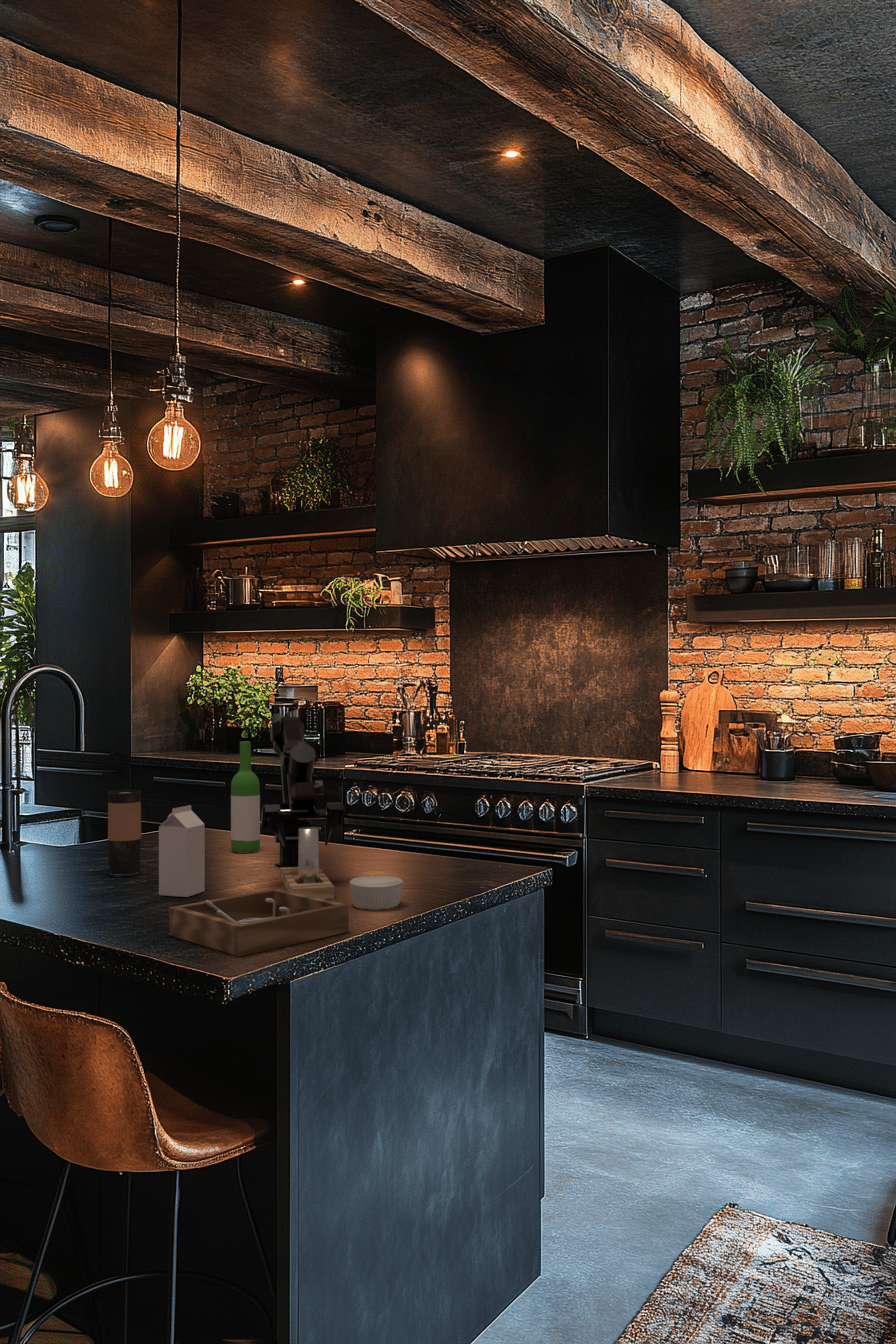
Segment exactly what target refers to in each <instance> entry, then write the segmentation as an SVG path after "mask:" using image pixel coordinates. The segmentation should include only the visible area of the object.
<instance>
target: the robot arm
mask: <svg viewBox="0 0 896 1344" xmlns="http://www.w3.org/2000/svg"><path fill="white" fill-rule="evenodd" d="M269 733H270V735H269V736H270V742H272V744H273V747H272V748H273V751H274V752H275V753H276V755H277V756H278V757H279V759H280V772H281V773H280V776H281V791H282V803H281V804H277V803H276V804H264V805H263V806H262V807H261V814H260V826H261V828H263V829H267V831H269V832H272V833H273V834H274V842H275V843H276V844H279V862H275V863H274V866H276V865H278V866H277V867H281V866H282V867H281V868H286V867H298V829H299V828H303V827H314V826H313V825H314V824H313V822H312V820H322V819H324V821H325V822H324V823H325V824H324V845H325V846H326V847H327V846H328V844H329V840H330V836H331V834H332V832H333V830H334V829H337V828H338V827H339V826H342V825H344V819H345V813H346V809H345V805H344V804H343V802H326V807H325V809H321V808H320V809H316V808H315V806H317V797H319V796H320V797H321V796H323V795H324V792H325V791H324V790H325V789H324V781H323V780H314V782H313V779H312V776H313V774H314V767H315V765H316V762H319V759H318V758H319V756H317V755H316V750H315V749H314V748H313V747H312V746H310V744H309V743H308V742H306V740H305V741H304V738H305V723H304V722H302V721H301V718H300V717H298V716H283V717H280V718H279V720H277V721H275V722H273V723H272V724H271V727H270V731H269Z"/></svg>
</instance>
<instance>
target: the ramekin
mask: <svg viewBox="0 0 896 1344" xmlns="http://www.w3.org/2000/svg"><path fill="white" fill-rule="evenodd" d="M349 887H350V893H351V899H352V904H353V905H354V907H355V908H356V907H357V909H359V908H360V909H359V910H363V909H369V910H368V911H379V910H378V909H387V910H390V909H389V908H392V909H394V908H393V907H395V908H397V907H398V905H399V904H401V903H400V902H401V897H402V889H403V887H404V880H403V879H402V878H399V877H396V876H388V875H370V876H369V875H368V876H367V875H366V876H361V877H355V878H352V879H351V880H350V881H349ZM396 906H397V907H396Z"/></svg>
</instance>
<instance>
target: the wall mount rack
mask: <svg viewBox="0 0 896 1344" xmlns="http://www.w3.org/2000/svg"><path fill="white" fill-rule="evenodd" d="M209 900H210V899H209ZM209 900H208V899H206V900H204V901H205V903H206V904H207V905H208V906H209V907H212V908H213V909H215V910H216V911H217V914H218V915H219V916H221V917H222V918H225V919H226V920H229V921H233V922H237V923H240V924H244V923H249V922H254V921H259V920H264V919H269V918H274V917H276V916H275V915H276V902H275V900H273V899H271V898H267V899H266V900H265V901H266V902H270V903H273V916H272V917H267V918H246V919H242V920H240V921H235V920H233V919H232V918H231V917H229V916H228V915H227V914H225V913H224V912H223V911H221V910H220V909H218V908H217V907H216V906H214V905H213V903H211V902H210V901H209ZM279 910H280V911H287V915H288V914H290V911H289V909H288V908H286V907H280V908H279Z"/></svg>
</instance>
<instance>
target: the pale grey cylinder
mask: <svg viewBox="0 0 896 1344" xmlns="http://www.w3.org/2000/svg"><path fill="white" fill-rule="evenodd" d="M319 831H320V830H319V827H316V826H312V827H303V828H299V829H298V836H297V837H298V884H307V883H319V867H320V864H319V861H320V859H319V858H320V857H319V856H320V855H319V854H320V853H319V852H320V851H319V836H320V835H319V833H320V832H319Z"/></svg>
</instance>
